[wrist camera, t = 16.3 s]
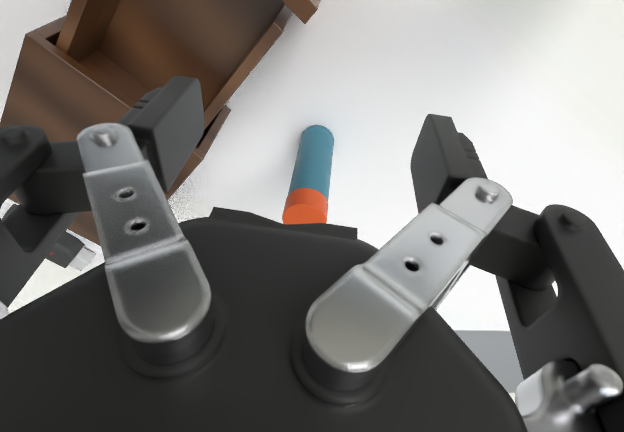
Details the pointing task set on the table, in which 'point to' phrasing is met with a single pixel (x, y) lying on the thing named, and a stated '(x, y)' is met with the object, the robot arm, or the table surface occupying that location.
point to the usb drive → (65, 250)
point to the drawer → (176, 42)
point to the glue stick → (310, 178)
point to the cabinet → (75, 105)
